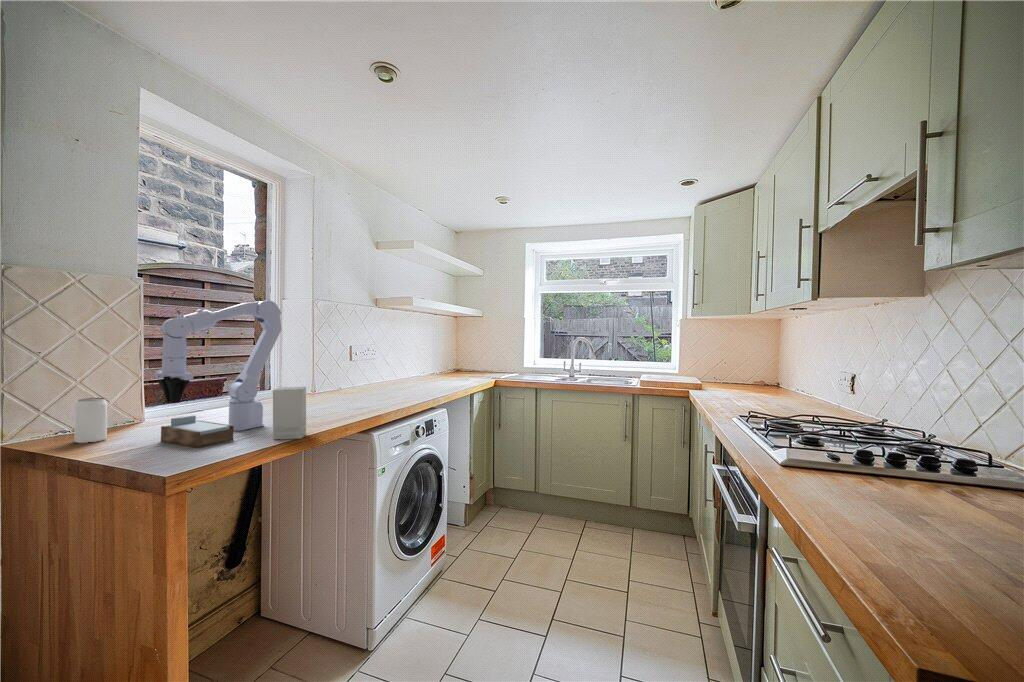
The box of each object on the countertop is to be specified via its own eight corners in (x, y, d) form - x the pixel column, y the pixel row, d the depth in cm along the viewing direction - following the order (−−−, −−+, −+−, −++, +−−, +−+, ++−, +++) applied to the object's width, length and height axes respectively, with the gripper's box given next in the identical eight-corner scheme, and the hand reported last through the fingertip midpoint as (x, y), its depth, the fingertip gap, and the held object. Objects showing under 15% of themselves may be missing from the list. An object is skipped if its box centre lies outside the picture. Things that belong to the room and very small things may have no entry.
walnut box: (160, 441, 119) (161, 426, 119) (197, 434, 128) (197, 420, 128) (197, 448, 113) (198, 432, 113) (233, 440, 123) (233, 425, 123)
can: (68, 442, 115) (69, 399, 115) (97, 437, 121) (98, 396, 121) (84, 444, 113) (85, 401, 113) (112, 439, 120) (113, 398, 120)
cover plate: (165, 429, 120) (166, 419, 120) (195, 424, 127) (196, 414, 127) (200, 435, 114) (200, 424, 114) (229, 429, 122) (229, 419, 122)
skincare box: (306, 434, 133) (307, 386, 132) (301, 439, 126) (302, 389, 126) (277, 435, 131) (279, 386, 130) (270, 440, 124) (272, 388, 124)
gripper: (143, 357, 124) (142, 402, 124) (175, 359, 119) (173, 406, 119) (170, 356, 130) (169, 399, 130) (201, 358, 125) (199, 402, 125)
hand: (173, 402), depth 125 cm, fingers closed
